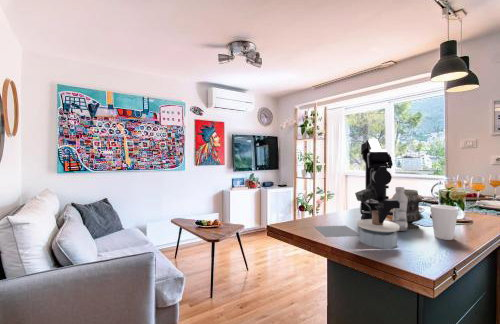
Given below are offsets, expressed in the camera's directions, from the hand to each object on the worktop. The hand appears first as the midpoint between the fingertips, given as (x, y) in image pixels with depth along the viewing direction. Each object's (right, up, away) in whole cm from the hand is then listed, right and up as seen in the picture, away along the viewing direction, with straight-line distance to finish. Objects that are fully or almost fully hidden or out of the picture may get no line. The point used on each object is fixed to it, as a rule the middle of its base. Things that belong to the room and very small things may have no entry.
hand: (377, 222), depth 101 cm
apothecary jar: (+26, -8, +24) cm, 37 cm away
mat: (-11, -8, +15) cm, 21 cm away
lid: (0, -2, 0) cm, 2 cm away
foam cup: (+32, -8, +7) cm, 34 cm away
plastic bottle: (+19, -8, +17) cm, 27 cm away
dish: (0, -9, 0) cm, 9 cm away
